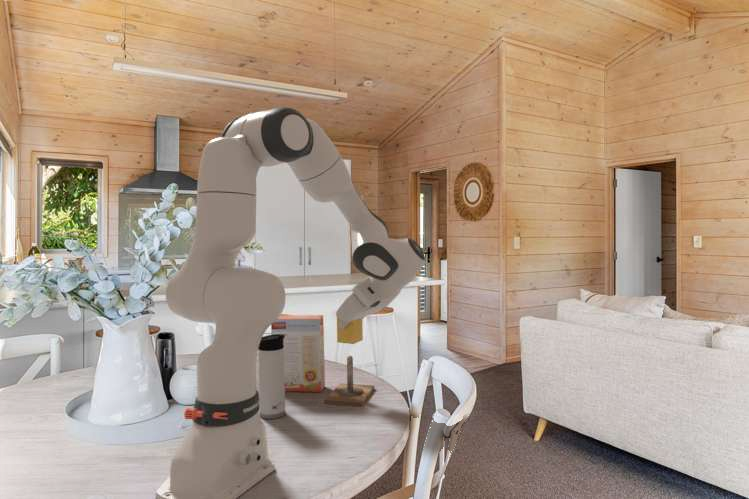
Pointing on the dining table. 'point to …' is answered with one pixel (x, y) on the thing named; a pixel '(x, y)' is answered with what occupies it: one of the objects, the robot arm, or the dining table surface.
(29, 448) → the dining table surface
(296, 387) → the cracker box
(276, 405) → the travel mug
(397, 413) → the dining table surface
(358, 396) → the post board
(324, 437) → the dining table surface
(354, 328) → the collar
